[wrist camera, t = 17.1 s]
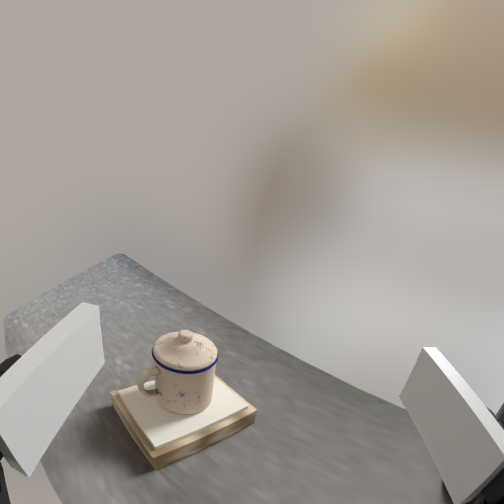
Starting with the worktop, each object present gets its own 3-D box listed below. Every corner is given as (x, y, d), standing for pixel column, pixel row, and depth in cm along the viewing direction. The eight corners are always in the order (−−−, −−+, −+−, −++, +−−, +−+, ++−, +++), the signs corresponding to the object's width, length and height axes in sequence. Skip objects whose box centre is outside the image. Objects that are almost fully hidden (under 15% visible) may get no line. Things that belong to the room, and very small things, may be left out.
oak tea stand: (202, 376, 51) (203, 360, 50) (253, 422, 42) (257, 406, 41) (112, 405, 39) (109, 388, 38) (155, 469, 29) (152, 454, 28)
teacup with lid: (191, 370, 47) (194, 311, 44) (226, 402, 41) (234, 340, 38) (127, 392, 38) (120, 328, 35) (157, 432, 32) (152, 368, 29)
